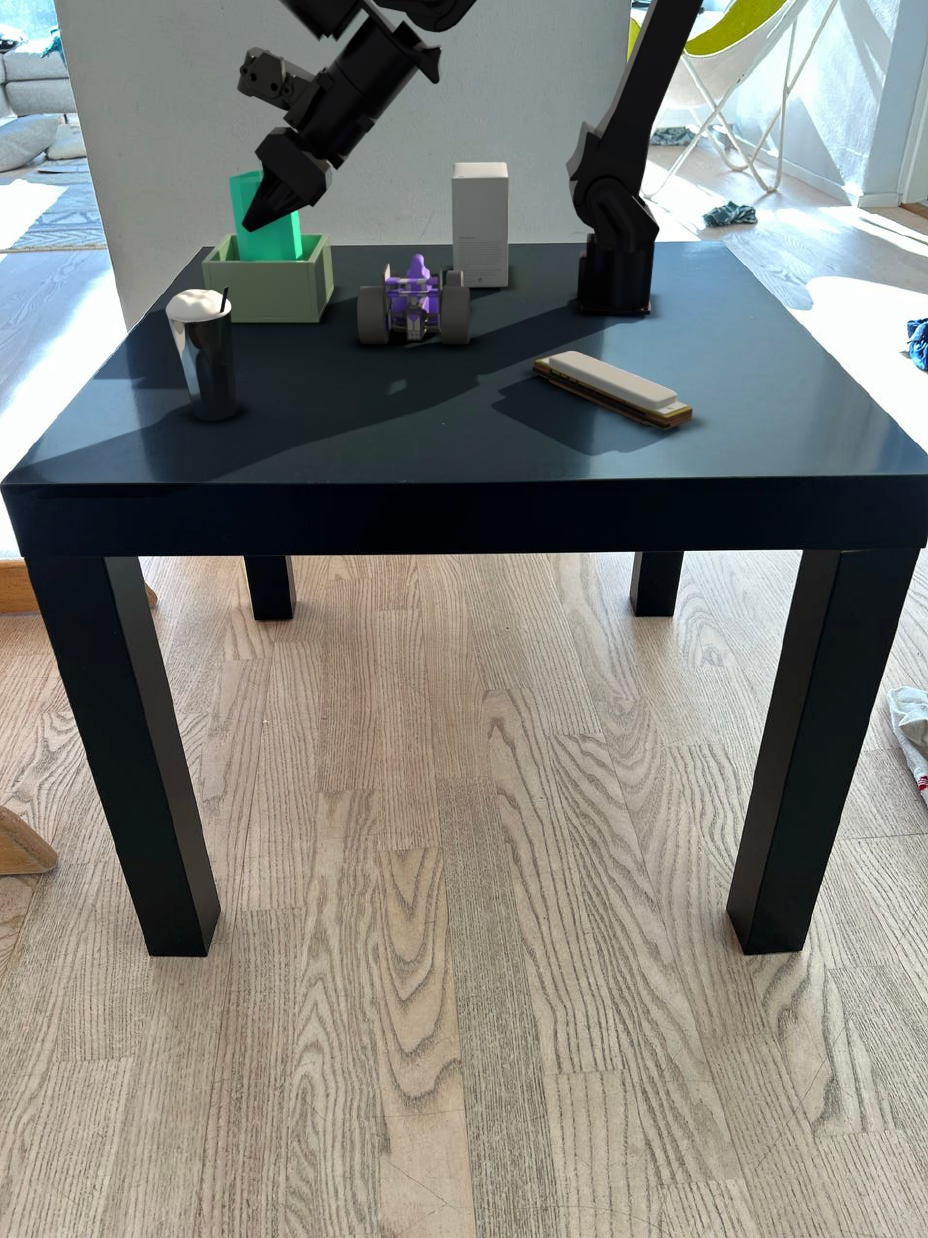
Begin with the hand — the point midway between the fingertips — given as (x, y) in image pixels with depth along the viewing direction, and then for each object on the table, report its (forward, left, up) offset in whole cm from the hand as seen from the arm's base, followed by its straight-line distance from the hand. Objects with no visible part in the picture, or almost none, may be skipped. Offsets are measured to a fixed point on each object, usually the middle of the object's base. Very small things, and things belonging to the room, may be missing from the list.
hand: (252, 220), depth 93 cm
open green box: (-1, 0, -8) cm, 8 cm away
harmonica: (-33, +20, -8) cm, 40 cm away
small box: (-20, -11, -8) cm, 24 cm away
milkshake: (-4, +26, -8) cm, 27 cm away
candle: (-1, 0, -7) cm, 7 cm away
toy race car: (-16, +4, -8) cm, 18 cm away
